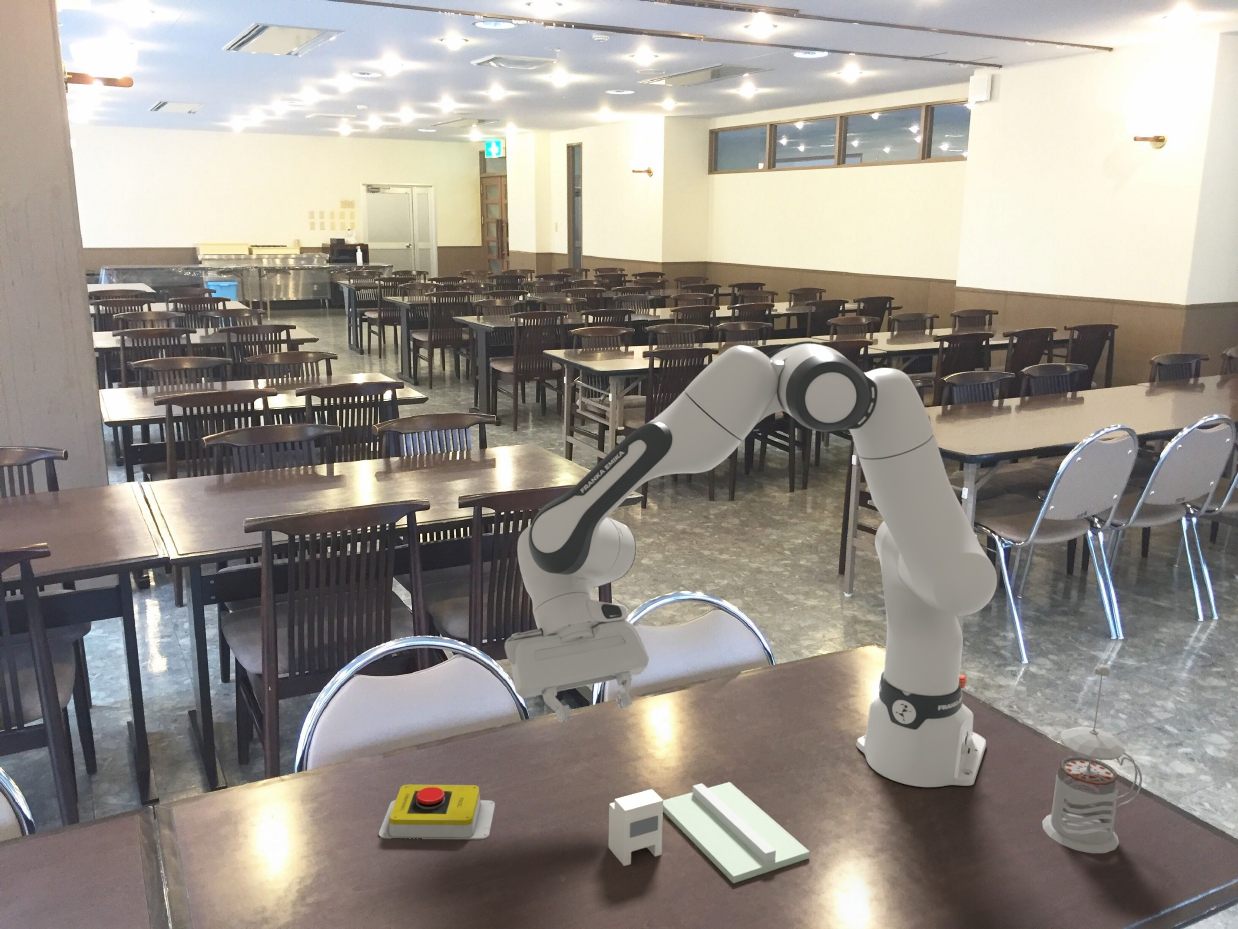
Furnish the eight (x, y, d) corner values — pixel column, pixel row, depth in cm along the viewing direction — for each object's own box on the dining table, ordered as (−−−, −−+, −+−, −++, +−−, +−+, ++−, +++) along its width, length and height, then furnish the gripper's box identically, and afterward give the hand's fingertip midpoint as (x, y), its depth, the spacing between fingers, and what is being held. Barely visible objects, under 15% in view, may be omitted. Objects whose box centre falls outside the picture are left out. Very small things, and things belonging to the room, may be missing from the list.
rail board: (659, 807, 142) (659, 792, 141) (729, 788, 147) (730, 773, 146) (733, 883, 125) (734, 866, 125) (809, 858, 131) (810, 842, 130)
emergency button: (390, 775, 141) (495, 776, 142) (391, 803, 142) (496, 804, 143) (375, 812, 132) (488, 813, 133) (377, 841, 133) (488, 842, 134)
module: (608, 847, 132) (609, 793, 130) (645, 836, 135) (646, 783, 133) (624, 867, 128) (625, 811, 126) (662, 855, 131) (663, 801, 129)
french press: (1033, 809, 143) (1053, 648, 137) (1118, 817, 141) (1142, 654, 136) (1053, 849, 134) (1075, 678, 128) (1144, 858, 132) (1170, 685, 126)
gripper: (506, 626, 138) (533, 720, 132) (635, 604, 147) (666, 691, 141) (495, 644, 143) (521, 736, 137) (621, 622, 152) (650, 707, 146)
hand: (596, 713), depth 139 cm, fingers open, 8 cm apart
